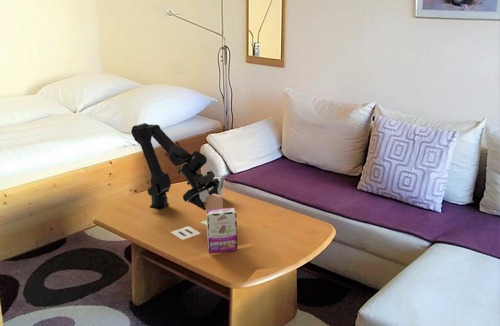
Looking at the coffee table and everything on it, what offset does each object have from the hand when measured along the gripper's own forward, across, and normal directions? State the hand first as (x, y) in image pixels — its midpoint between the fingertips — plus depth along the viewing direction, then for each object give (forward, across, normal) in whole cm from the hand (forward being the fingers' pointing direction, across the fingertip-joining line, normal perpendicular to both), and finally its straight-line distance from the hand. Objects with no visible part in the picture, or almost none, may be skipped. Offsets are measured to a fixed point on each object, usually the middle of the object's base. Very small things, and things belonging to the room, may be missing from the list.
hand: (212, 206), depth 232 cm
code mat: (+5, -7, +6) cm, 11 cm away
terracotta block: (+6, 0, +4) cm, 7 cm away
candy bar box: (+19, -16, -7) cm, 25 cm away
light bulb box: (-7, +19, +19) cm, 28 cm away
